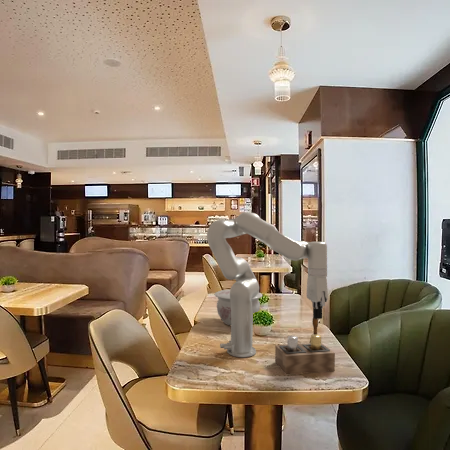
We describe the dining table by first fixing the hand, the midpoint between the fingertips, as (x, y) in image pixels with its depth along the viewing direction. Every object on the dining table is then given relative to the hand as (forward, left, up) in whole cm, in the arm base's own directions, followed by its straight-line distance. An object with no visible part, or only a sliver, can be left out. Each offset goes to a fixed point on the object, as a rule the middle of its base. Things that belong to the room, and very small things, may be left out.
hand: (317, 318), depth 141 cm
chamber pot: (-17, +63, -19) cm, 68 cm away
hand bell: (+8, +17, -19) cm, 27 cm away
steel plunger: (-10, 0, -14) cm, 18 cm away
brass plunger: (0, 0, -14) cm, 14 cm away
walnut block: (-5, 0, -19) cm, 20 cm away
